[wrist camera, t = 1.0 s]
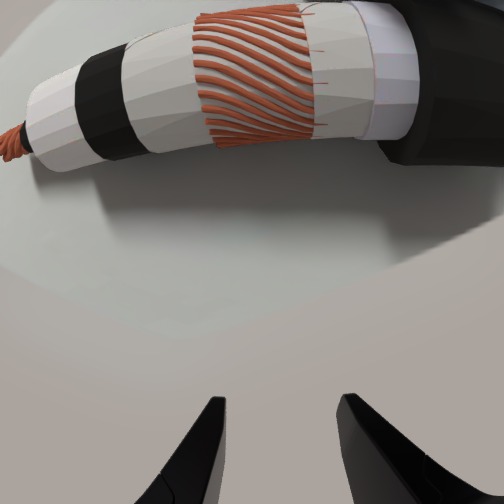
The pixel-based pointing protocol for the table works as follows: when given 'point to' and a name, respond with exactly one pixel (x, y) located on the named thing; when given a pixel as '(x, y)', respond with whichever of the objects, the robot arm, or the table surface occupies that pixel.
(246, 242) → the table surface
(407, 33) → the cable
